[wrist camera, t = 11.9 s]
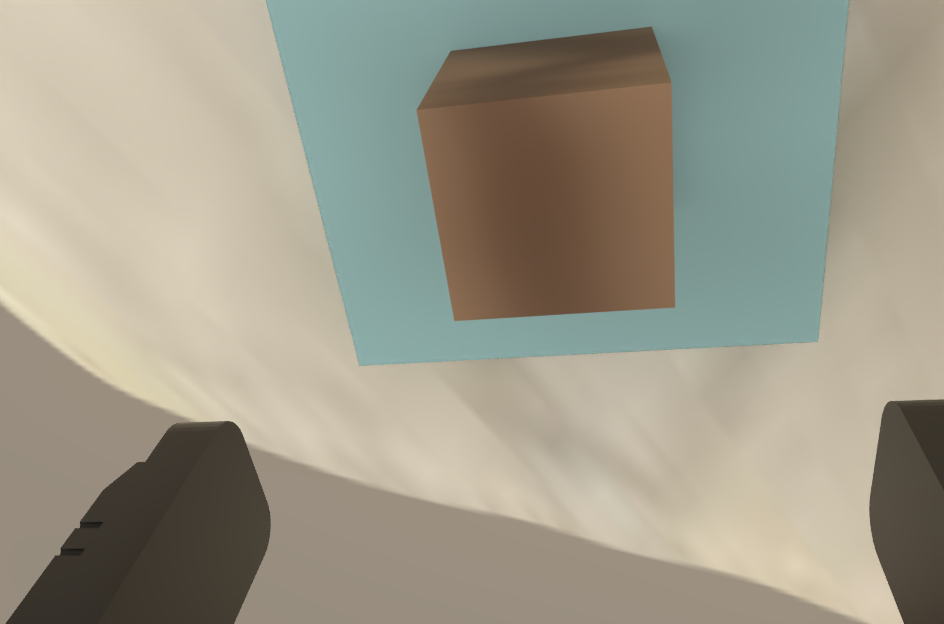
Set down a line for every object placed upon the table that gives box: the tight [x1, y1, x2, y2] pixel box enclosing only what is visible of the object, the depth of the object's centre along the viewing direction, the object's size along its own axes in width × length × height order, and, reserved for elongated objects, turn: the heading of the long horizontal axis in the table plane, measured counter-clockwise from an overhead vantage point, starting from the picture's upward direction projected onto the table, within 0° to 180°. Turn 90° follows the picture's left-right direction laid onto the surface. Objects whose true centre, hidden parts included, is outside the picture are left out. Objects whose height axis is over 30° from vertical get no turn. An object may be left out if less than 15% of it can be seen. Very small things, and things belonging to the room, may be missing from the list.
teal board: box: [266, 0, 849, 366], centre depth 22 cm, size 14×14×2 cm
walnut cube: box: [417, 27, 675, 321], centre depth 19 cm, size 5×5×5 cm
